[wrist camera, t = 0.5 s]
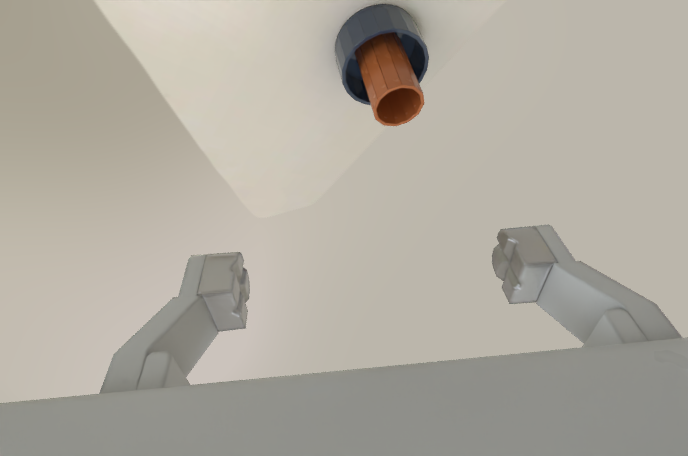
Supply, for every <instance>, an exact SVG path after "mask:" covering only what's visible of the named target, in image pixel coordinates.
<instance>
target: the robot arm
mask: <svg viewBox="0 0 688 456" xmlns="http://www.w3.org/2000/svg"><path fill="white" fill-rule="evenodd" d="M497 239H498V242H499V244H498V245H497V246H496V247H495V248H494V250H493V254H492V264H493V268H494V271H495V274H496V276H497V277H498V278H500V279H501V280H503V281H504V282H503V285H502V289H503V291H504V293H505V295H506V297H507V299H508V302H509V304H517V303H532V302H536V304H537V305H538V306H540V307H541V308H542V309H543V310H545V311H546V312H547V313H548V314H549V315H550V316H552V317H553V318H554V319H555V320H556V321H558V322H559V323H560V324H561V325H562V326H564V327H565V328H566V329H567V330H568V331H570V332H571V333H572V334H573V335H574V336H576V337H577V338H578V339H579V340H580V341H582V342H583V343H584V345H583V346H582V348H572V349H563V350H551V351H541V352H530V353H520V354H510V355H499V356H489V357H479V358H469V359H458V360H448V361H437V362H427V363H418V364H406V365H395V366H386V367H375V368H364V369H353V370H343V371H333V372H322V373H312V374H302V375H292V376H280V377H270V378H259V379H249V380H239V381H229V382H217V383H207V384H197V385H190V384H189V382H188V380H187V379H186V377H187V375H188V374H189V373H190V371H191V370H192V368H193V367H194V366H195V364H196V363H197V361H198V360H199V359H200V358H201V356H202V355H203V353H204V352H205V351H206V349H207V348H208V347H209V345H210V344H211V342H212V341H213V340H214V338H215V337H216V336H217V334H218V332H219V331H227V330H235V329H244V328H246V319H247V312H248V311H247V307H246V304H245V303H246V302H247V300H248V299H249V293H250V285H249V277H248V273H247V270H246V269H245V268H243V263H244V260H243V256H242V254H241V253H240V252H234V253H217V254H207V255H192V256H191V257H190V258H189V260H188V263H187V267H186V271H185V274H184V278H183V281H182V285H181V289H180V293H179V296H178V297H174V298H172V300H170V301H169V302H168V303H167V304H166V305H165V306H164V307H163V308H162V309H161V310H160V311H159V312H158V313H157V314H156V315H155V316H153V317H152V318H151V320H149V321H148V322H147V323H146V324H145V325H144V326H143V327H142V328H141V329H140V330H139V331H138V332H137V333H136V334H135V335H133V336H132V337H131V338H130V339H129V340H128V341H127V342H126V343H125V344H124V345H123V346H122V347H121V348H120V349H119V350H118V351H117V352H116V353H115V354H114V356H113V358H112V361H111V364H110V366H109V369H108V372H107V374H106V377H105V380H104V382H103V385H102V388H101V390H100V393H99V394H92V395H82V396H72V397H61V398H50V399H40V400H30V401H20V402H9V403H0V456H688V337H687V338H682V337H681V335H680V334H679V333H678V331H677V330H676V329H675V328H674V326H673V325H672V324H671V323H670V321H669V320H668V319H667V317H666V316H665V315H664V314H663V312H662V311H661V310H660V308H659V307H658V306H657V305H656V304H655V303H653V302H652V301H650V300H648V299H646V298H645V297H643V296H641V295H639V294H638V293H636V292H634V291H632V290H631V289H629V288H627V287H625V286H624V285H622V284H620V283H618V282H617V281H615V280H613V279H611V278H609V277H607V276H606V275H604V274H602V273H601V272H599V271H597V270H595V269H593V268H592V267H590V266H588V265H587V264H585V263H583V262H581V261H575V259H574V258H573V256H572V255H571V253H570V252H569V251H568V249H567V248H566V246H565V245H564V243H563V242H562V241H561V239H560V237H559V236H558V234H557V233H556V231H555V230H554V229H553V227H552V226H550V225H539V226H532V227H531V226H529V227H519V228H508V229H501V230H500V231H499V233H498V236H497Z"/></svg>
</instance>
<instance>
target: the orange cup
mask: <svg viewBox="0 0 688 456" xmlns="http://www.w3.org/2000/svg"><path fill="white" fill-rule="evenodd" d="M355 56H356V60H357V63H358V66H359V69H360V73H361V76H362V79H363V82H364V85H365V88H366V91H367V94H368V98H369V101H370V104H371V107H372V110H373V113H374V116H375V119H376V120H377V121H379V122H380V123H381V124H383V125H387V126H398V125H401V124H404V123H407V122H409V121H410V120H412V119H413V118H414V117H415V116H417V115H418V114H419V112H420V111H421V108H422V107H423V105H424V97H423V92H422V90H421V87H420V85H419V83H418V80H417V78H416V76H415V73H414V71H413V69H412V66H411V64H410V62H409V59H408V57H407V55H406V52H405V50H404V47H403V45H402V43H401V40H400V38H399V37H398V36H397V35H396V34H395V33H394V32H392V33H385V34H380V35H378V36H376V37H373V38H371V39H369V40H367V41H366V42H365V43H363V44H362V45H361V46H360V47H359V48H357V49H356V52H355Z"/></svg>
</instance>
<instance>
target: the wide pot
mask: <svg viewBox="0 0 688 456" xmlns="http://www.w3.org/2000/svg"><path fill="white" fill-rule="evenodd" d="M392 32H394V33H395V34H396V35H397V36H398V37H399V38H400V40H401V43H402V45H403V47H404V50H405V52H406V55H407V57H408V59H409V62H410V64H411V66H412V69H413V71H414V73H415V76H416V78H417V80H418V83H420V82H421V81H422V79H423V77H424V75H425V73H426V71H427V67H428V60H429V55H428V51H427V46H426V44H425V42H424V40H423V38H422V36H421V34H420V32H419V29H418V27H417V25H416V23H415V22H414V20H413V19H412V17H411V16H410V15H409V14H408V13H407V12H406V11H405V10H403V9H402V8H399V7H397V6H394V5H388V4H379V5H373V6H370V7H367V8H365V9H362V10H361V11H359V12H357V13H356V14H354V15H353V16H352V17H351V18H350V19H349V20H348V21H347V22H346V23H345V24H344V25H343V27H342V29H341V30H340V32H339V34H338V37H337V40H336V44H335V56H336V62H337V65H338V69H339V72H340V76H341V79H342V83H343V85H344V87H345V89H346V91H347V93H348V94H349V95H350V96H351V97H352V98H353V99H355V100H356V101H359V102H361V103H363V104H367V105H371V104H370V101H369V98H368V94H367V91H366V88H365V85H364V82H363V79H362V76H361V73H360V69H359V66H358V63H357V60H356V56H355V52H356V49H357V48H359V47H360V46H361V45H362V44H363V43H365V42H366V41H367V40H369V39H371V38H373V37H376V36H378V35H380V34H385V33H392Z"/></svg>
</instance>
